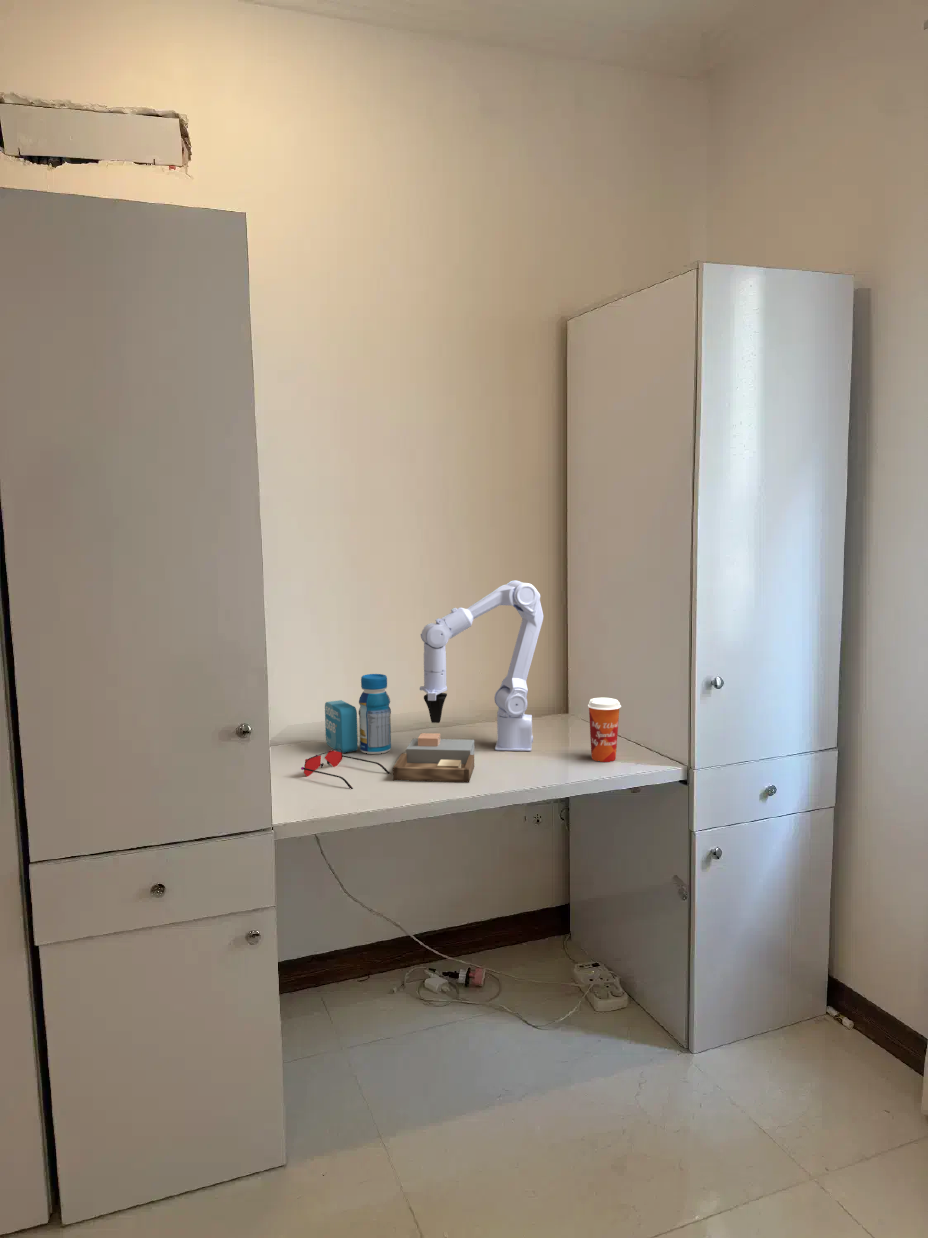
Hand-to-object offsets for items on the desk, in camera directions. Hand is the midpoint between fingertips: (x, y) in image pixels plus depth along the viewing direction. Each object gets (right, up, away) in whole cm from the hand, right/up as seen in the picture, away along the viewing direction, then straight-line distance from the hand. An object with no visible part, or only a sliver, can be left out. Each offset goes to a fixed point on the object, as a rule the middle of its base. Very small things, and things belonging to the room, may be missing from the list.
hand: (435, 722), depth 227 cm
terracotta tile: (-2, -5, -4) cm, 7 cm away
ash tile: (+4, -8, -16) cm, 18 cm away
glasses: (-21, -12, -16) cm, 29 cm away
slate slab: (+1, -9, -4) cm, 10 cm away
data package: (-25, -8, +7) cm, 28 cm away
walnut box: (0, -11, -16) cm, 19 cm away
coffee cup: (+43, -9, -5) cm, 44 cm away
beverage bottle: (-16, -8, +5) cm, 19 cm away
